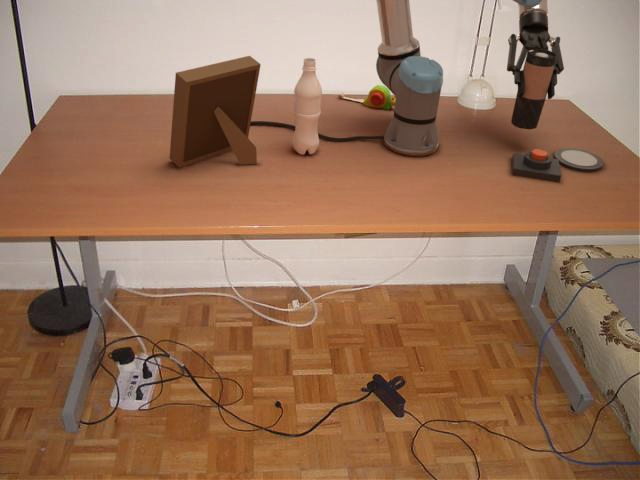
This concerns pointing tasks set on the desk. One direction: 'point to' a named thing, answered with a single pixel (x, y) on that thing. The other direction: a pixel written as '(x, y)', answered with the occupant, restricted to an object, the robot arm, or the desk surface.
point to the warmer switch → (535, 167)
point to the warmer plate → (578, 160)
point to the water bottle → (307, 109)
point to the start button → (539, 155)
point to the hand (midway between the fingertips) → (536, 96)
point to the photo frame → (214, 111)
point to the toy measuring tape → (376, 98)
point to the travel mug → (533, 88)
